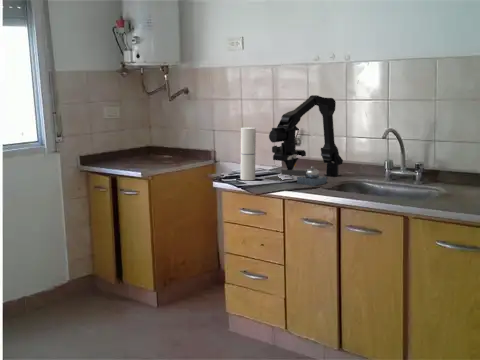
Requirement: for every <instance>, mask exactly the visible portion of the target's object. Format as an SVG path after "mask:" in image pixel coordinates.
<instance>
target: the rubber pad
mask: <svg viewBox="0 0 480 360" xmlns="http://www.w3.org/2000/svg"><path fill="white" fill-rule="evenodd" d="M264 179H266V180H273V181H277V180H280V182H282V181H281V180H282V179H281V178H279V177H278V174H277V175H272V176H267V177H264Z"/></svg>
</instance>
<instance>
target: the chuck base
mask: <svg viewBox="0 0 480 360" xmlns="http://www.w3.org/2000/svg"><path fill="white" fill-rule="evenodd" d="M327 179H328V176H325V175H319V177H306V176H301V175H298V176H297V177H296V183H297V184H300V185H307V186H313V187H317V186H321V185H324V184H328V183H327Z"/></svg>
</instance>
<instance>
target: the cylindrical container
mask: <svg viewBox="0 0 480 360" xmlns="http://www.w3.org/2000/svg"><path fill="white" fill-rule="evenodd" d="M256 129H257V128H256V127H251V126H250V127H248V126H247V127H240V180H241V181H254V180H256V148H257V145H256V142H257V141H256V139H257V138H256V135H257V134H256V133H257V132H256V131H257V130H256Z"/></svg>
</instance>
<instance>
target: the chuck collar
mask: <svg viewBox="0 0 480 360" xmlns="http://www.w3.org/2000/svg"><path fill="white" fill-rule="evenodd" d="M280 171H281V172H280V173H281V175H280V176H286V175H287V176H288V175H294V176H306V177H319V176H320V170H319V169H317V168H315V166H310V168H307V169H294V170H291V169H287V168H286V169H285V168H282V169H281V170H280Z"/></svg>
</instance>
